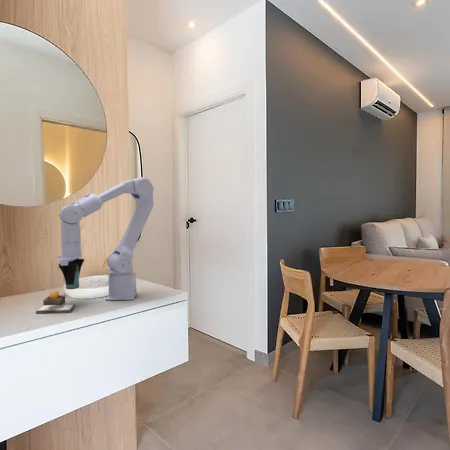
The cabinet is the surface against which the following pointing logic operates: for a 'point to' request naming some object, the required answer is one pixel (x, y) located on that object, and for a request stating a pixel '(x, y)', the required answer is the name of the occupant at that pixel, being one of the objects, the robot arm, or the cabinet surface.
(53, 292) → the button
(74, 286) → the cylinder
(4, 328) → the cabinet surface
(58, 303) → the button collar
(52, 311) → the drawing pad
